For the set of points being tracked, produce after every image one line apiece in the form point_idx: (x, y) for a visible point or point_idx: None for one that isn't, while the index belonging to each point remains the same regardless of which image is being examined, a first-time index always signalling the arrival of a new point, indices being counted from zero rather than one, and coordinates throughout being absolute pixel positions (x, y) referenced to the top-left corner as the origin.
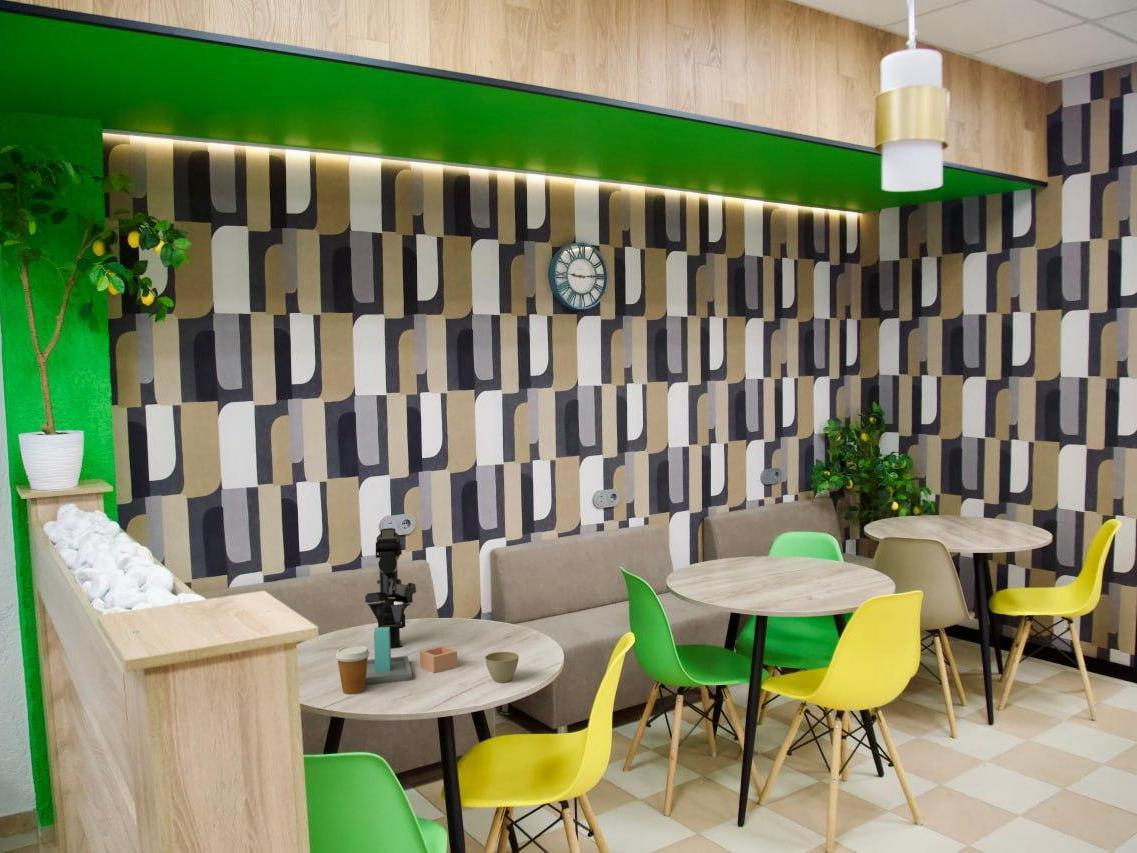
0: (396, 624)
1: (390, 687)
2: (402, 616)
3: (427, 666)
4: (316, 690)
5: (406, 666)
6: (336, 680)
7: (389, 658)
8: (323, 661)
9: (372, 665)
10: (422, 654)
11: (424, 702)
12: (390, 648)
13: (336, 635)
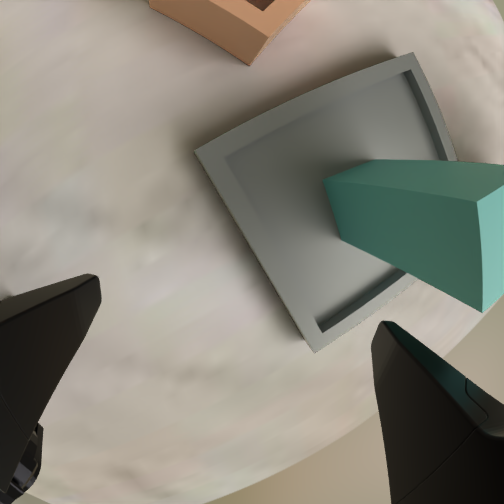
0: (95, 310)
1: (457, 114)
2: (12, 297)
3: (292, 17)
4: (476, 310)
5: (351, 91)
6: (425, 314)
7: (408, 160)
8: (262, 453)
9: (319, 273)
10: (282, 23)
11: (488, 18)
12: (371, 184)
13: (52, 498)
